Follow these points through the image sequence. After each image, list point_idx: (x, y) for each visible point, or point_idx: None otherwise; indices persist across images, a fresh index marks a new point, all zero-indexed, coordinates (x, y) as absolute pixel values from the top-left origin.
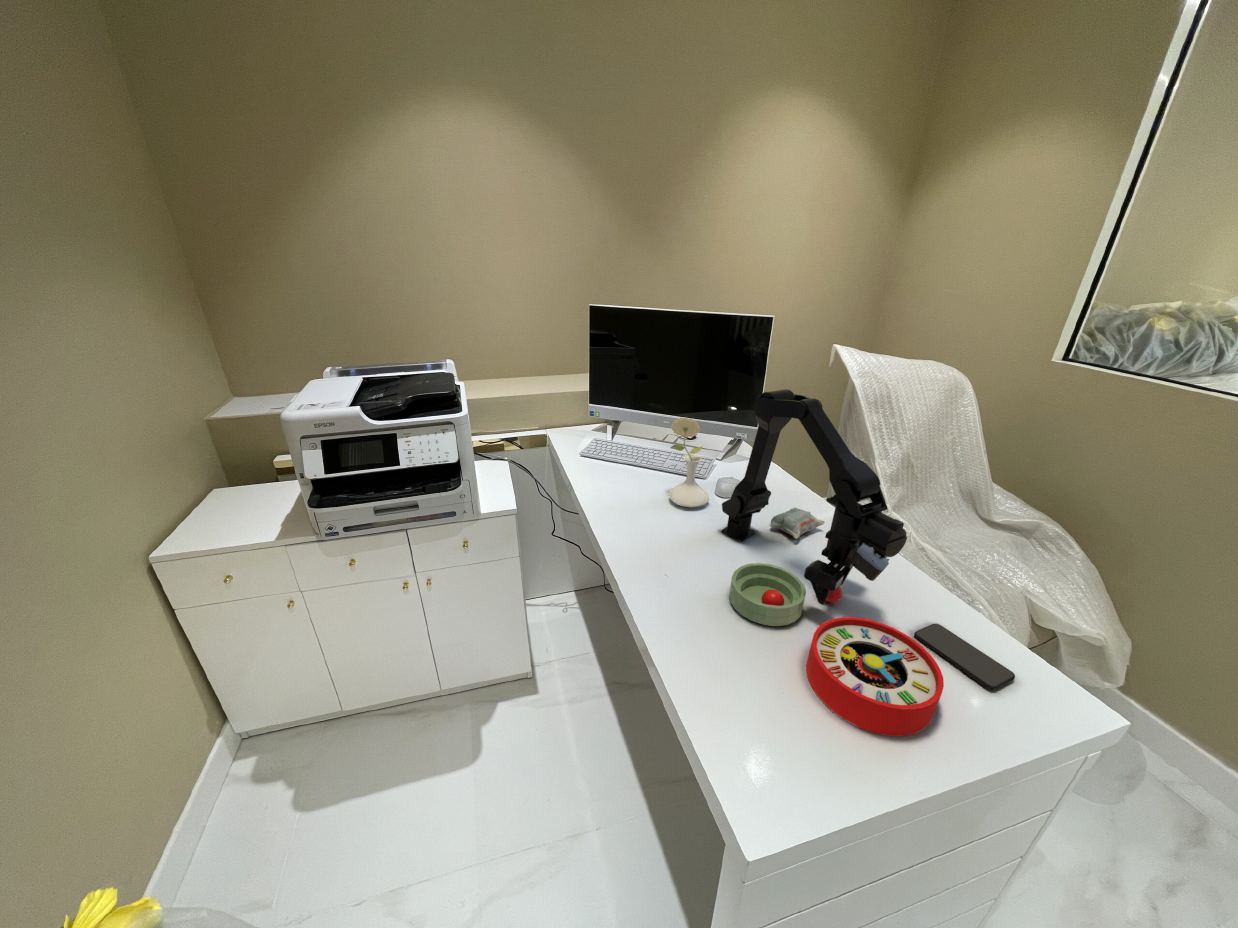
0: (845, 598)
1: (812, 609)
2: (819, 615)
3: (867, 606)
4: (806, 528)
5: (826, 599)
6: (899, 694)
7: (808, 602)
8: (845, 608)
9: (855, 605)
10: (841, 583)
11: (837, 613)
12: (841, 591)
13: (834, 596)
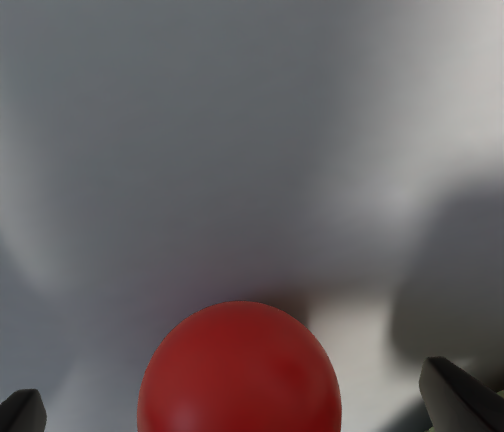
0: (105, 270)
1: (420, 349)
2: (455, 297)
3: (25, 87)
4: None
5: (469, 396)
6: None
7: (364, 391)
8: (235, 215)
9: (120, 175)
10: (29, 405)
11: (347, 229)
12: (234, 378)
13: (326, 368)
